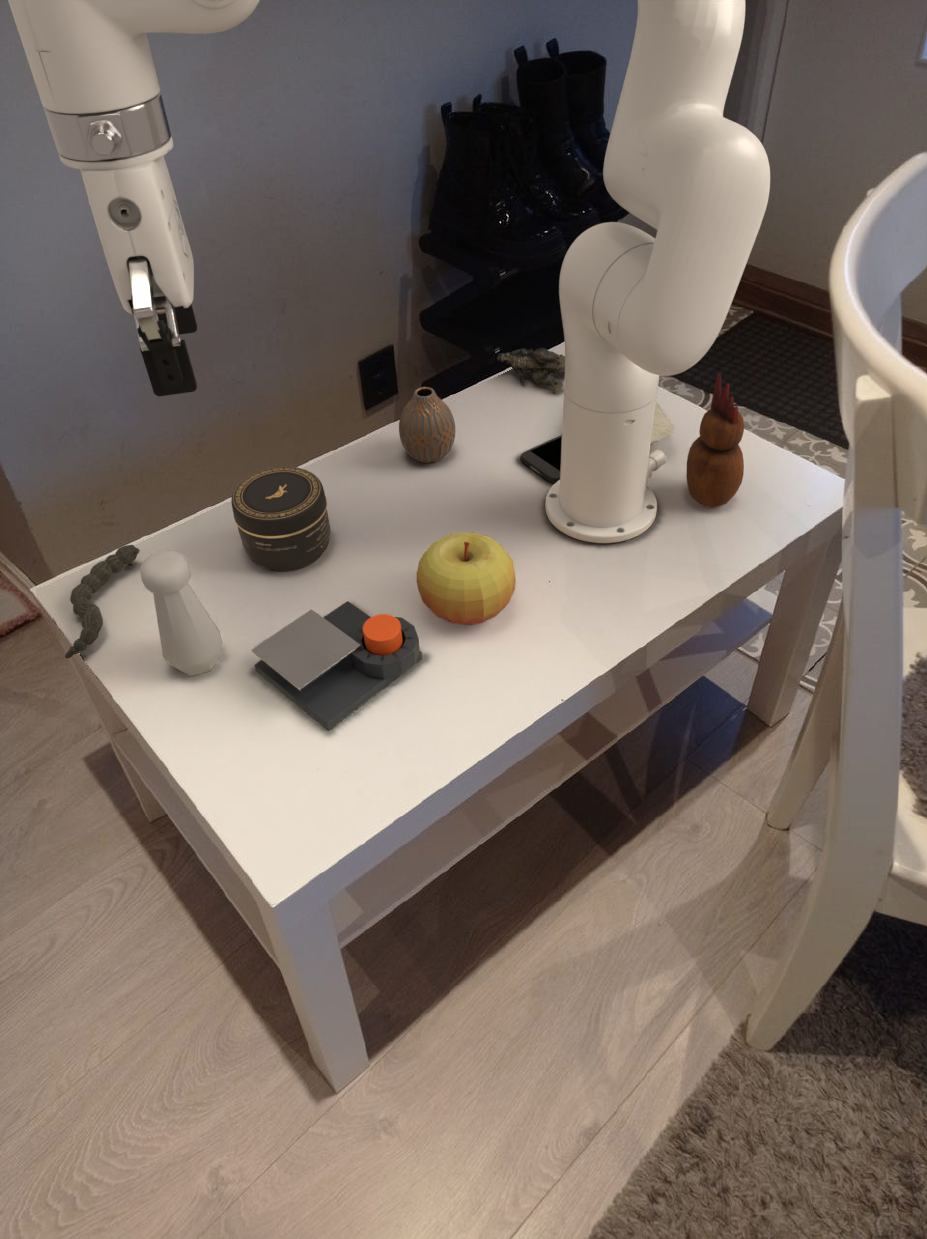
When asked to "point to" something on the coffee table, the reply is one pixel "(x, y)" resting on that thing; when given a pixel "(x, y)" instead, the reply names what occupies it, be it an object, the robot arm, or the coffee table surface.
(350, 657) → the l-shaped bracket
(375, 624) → the button
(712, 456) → the wooden figurine
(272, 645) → the plate
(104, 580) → the toy
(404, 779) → the coffee table surface
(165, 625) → the salt shaker
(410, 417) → the vase
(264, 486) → the jar
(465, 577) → the apple
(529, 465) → the smartphone
